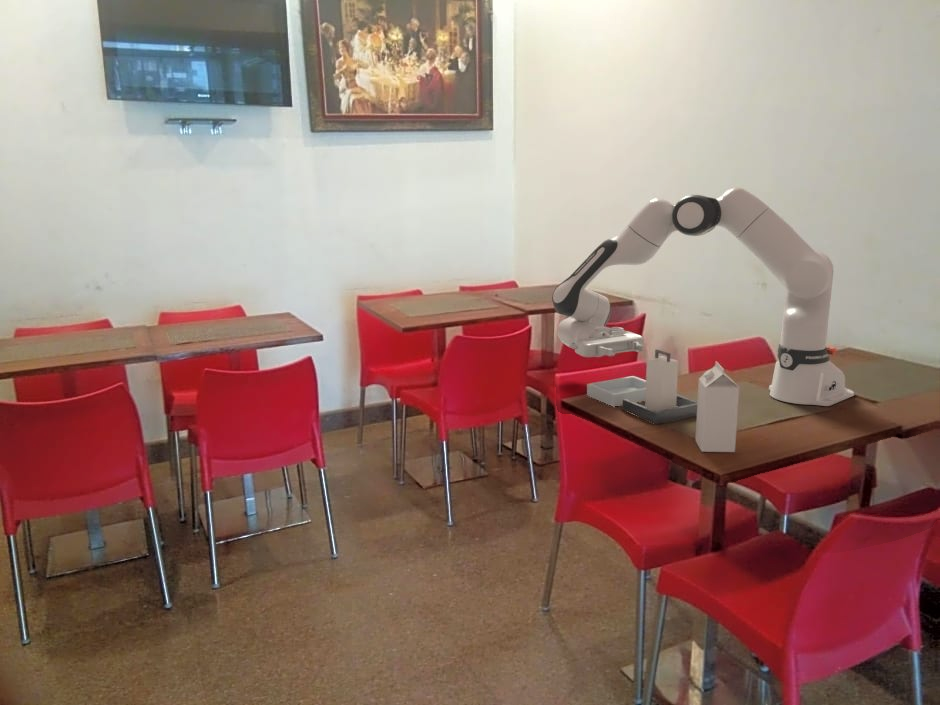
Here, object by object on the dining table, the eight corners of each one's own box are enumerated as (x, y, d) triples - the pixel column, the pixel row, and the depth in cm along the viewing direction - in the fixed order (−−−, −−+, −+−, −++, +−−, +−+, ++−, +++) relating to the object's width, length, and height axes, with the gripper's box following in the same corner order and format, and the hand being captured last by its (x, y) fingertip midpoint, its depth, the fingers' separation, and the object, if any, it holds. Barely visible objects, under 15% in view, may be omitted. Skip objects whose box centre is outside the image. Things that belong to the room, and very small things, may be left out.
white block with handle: (660, 407, 189) (662, 347, 185) (675, 413, 184) (678, 352, 180) (645, 410, 187) (647, 350, 183) (660, 416, 182) (663, 355, 178)
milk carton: (727, 441, 164) (732, 361, 160) (735, 453, 157) (740, 369, 153) (695, 441, 165) (699, 361, 160) (701, 452, 158) (706, 369, 154)
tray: (632, 387, 207) (633, 375, 206) (660, 398, 197) (661, 385, 196) (587, 395, 200) (587, 383, 200) (613, 407, 190) (613, 394, 189)
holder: (667, 401, 194) (667, 390, 193) (702, 414, 183) (702, 403, 182) (622, 410, 188) (622, 399, 187) (655, 424, 176) (656, 413, 176)
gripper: (566, 334, 201) (595, 344, 189) (625, 326, 210) (656, 335, 198) (566, 355, 203) (595, 367, 191) (624, 347, 212) (655, 357, 200)
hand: (627, 351), depth 194 cm, fingers open, 8 cm apart
